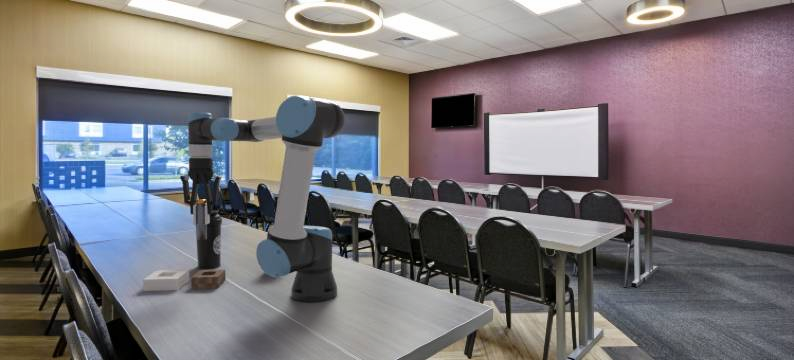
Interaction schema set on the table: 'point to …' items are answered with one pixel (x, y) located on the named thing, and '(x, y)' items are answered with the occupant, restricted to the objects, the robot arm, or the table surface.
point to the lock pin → (201, 220)
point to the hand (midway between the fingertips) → (201, 223)
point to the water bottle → (210, 244)
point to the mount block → (208, 279)
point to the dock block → (166, 280)
